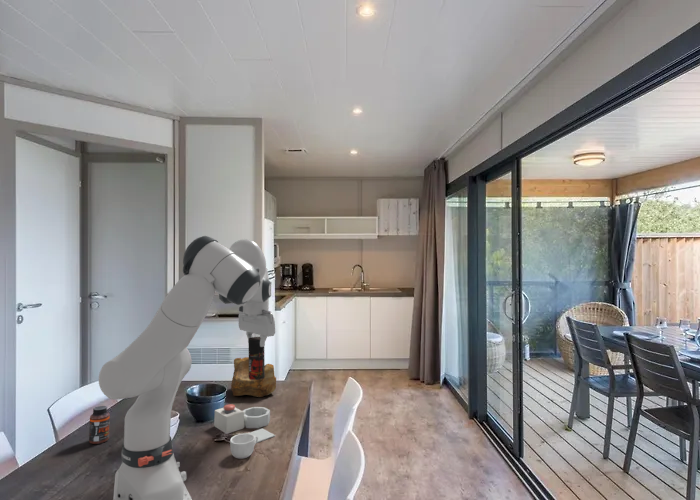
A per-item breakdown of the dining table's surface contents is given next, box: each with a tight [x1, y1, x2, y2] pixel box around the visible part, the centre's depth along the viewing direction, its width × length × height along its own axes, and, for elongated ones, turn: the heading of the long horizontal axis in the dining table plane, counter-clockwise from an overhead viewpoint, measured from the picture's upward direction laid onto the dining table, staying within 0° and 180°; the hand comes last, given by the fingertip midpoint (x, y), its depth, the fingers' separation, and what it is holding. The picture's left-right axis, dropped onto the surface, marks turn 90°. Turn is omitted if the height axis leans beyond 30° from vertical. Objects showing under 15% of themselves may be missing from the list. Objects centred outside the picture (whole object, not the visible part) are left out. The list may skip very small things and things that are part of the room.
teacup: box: [229, 432, 258, 460], centre depth 135 cm, size 10×8×5 cm
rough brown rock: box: [230, 356, 277, 398], centre depth 191 cm, size 23×17×15 cm
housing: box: [213, 406, 271, 435], centre depth 157 cm, size 13×18×6 cm
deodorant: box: [247, 336, 266, 380], centre depth 160 cm, size 6×6×15 cm
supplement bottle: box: [88, 405, 111, 445], centre depth 142 cm, size 6×6×11 cm
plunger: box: [223, 403, 236, 414], centre depth 155 cm, size 4×4×6 cm
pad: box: [248, 427, 276, 444], centre depth 148 cm, size 8×8×1 cm
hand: (256, 344), depth 160 cm, fingers closed on deodorant, 6 cm apart
